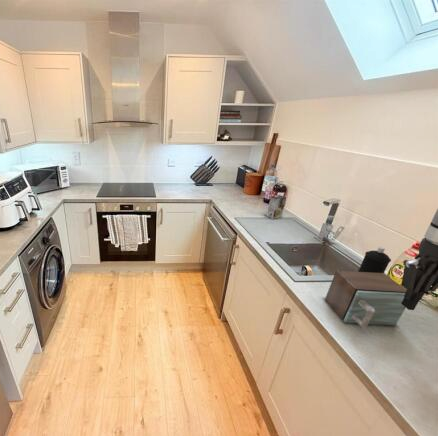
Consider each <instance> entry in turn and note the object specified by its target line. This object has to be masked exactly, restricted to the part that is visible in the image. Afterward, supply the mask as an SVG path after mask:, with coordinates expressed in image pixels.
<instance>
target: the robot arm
mask: <svg viewBox="0 0 438 436" xmlns="http://www.w3.org/2000/svg"><path fill="white" fill-rule="evenodd" d="M417 249H418V254H417V255H415V256H414V259H412V260H408V259H404V260H403V261H402V263H403V266H404V269H403V274H402V279H401V284H400V285H401V286H402V287H403V288H405V289H406V290H407V291H406V293H405V295H404V299H403V301H402V303H401V304H402V305H403V306H405V307H406V308H405V309H407V310H408V311H415V309H416V307H417V306H418V303H420V301H421V300H422V299H423V297H424V295H426V296H429V295H431V293H434V292H436V291H437V289H438V208H437V209H436V211H435V213H434V215H433V218H432V219H431V222H430V223H429V226H428V228H427V230H426V231H425V233H424V236H423V238H422V239H421V241H420V242H419V245H418V247H417ZM430 292H431V293H430Z"/></svg>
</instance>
